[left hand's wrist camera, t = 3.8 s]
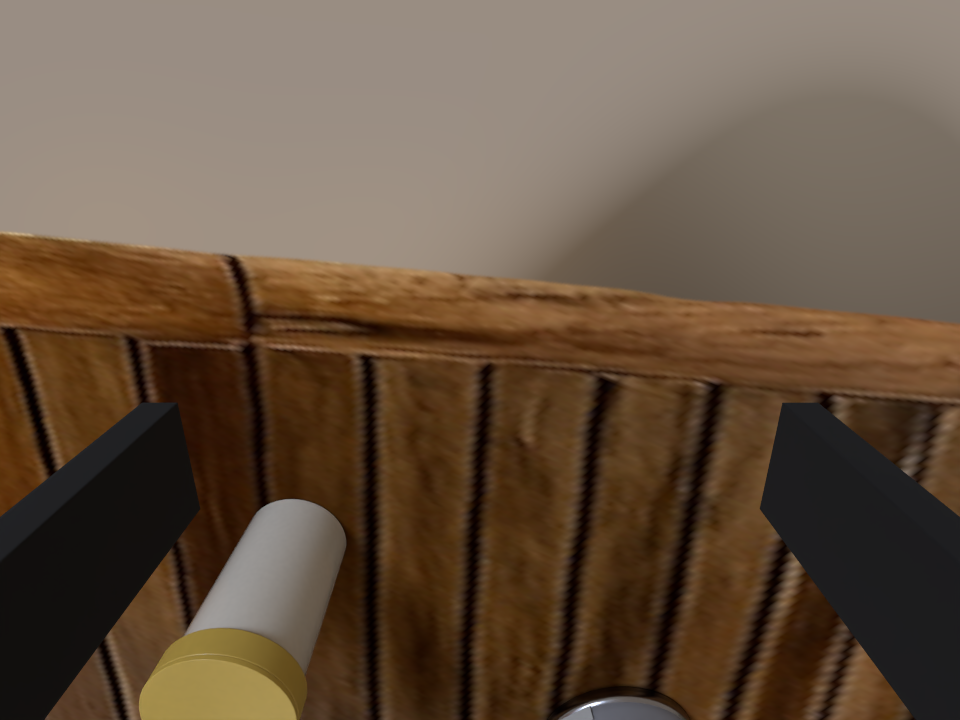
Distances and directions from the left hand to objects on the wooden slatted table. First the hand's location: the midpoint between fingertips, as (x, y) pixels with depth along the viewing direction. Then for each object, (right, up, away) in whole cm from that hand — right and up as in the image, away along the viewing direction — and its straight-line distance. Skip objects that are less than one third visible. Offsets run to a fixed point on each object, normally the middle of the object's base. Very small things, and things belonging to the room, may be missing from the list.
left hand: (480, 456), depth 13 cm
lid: (-15, -18, +21) cm, 32 cm away
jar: (-15, -13, +35) cm, 40 cm away
